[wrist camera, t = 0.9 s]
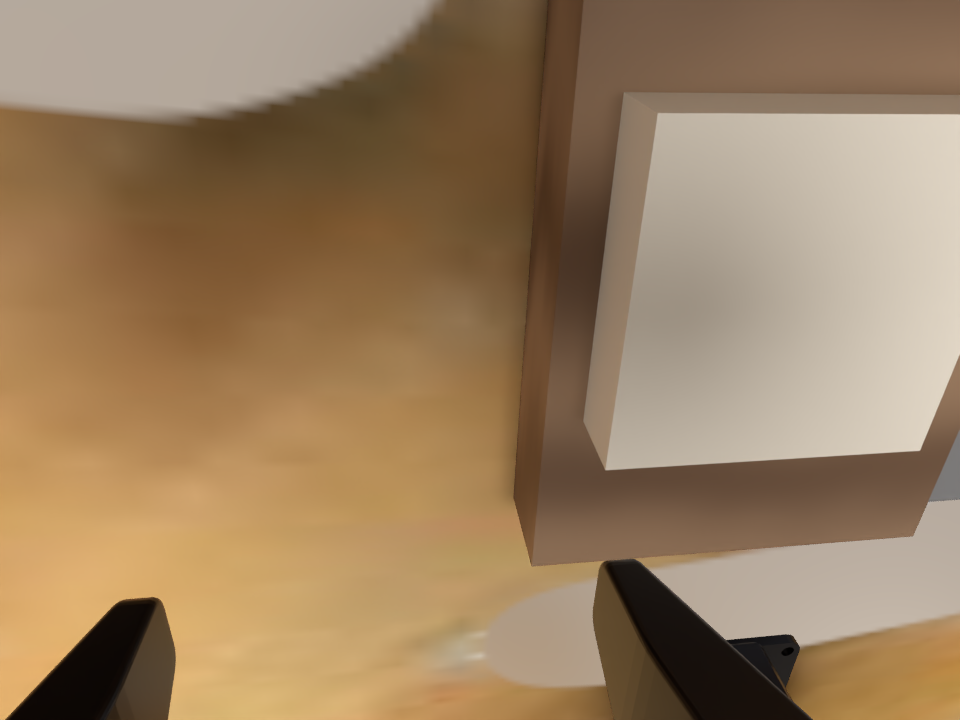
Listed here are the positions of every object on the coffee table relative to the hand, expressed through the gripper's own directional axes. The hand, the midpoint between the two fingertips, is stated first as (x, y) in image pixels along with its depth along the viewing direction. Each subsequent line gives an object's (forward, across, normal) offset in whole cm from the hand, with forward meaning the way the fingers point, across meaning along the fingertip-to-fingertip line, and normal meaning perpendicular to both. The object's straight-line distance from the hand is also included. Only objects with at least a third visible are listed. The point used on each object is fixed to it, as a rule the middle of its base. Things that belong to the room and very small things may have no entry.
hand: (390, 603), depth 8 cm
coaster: (+9, -9, 0) cm, 13 cm away
